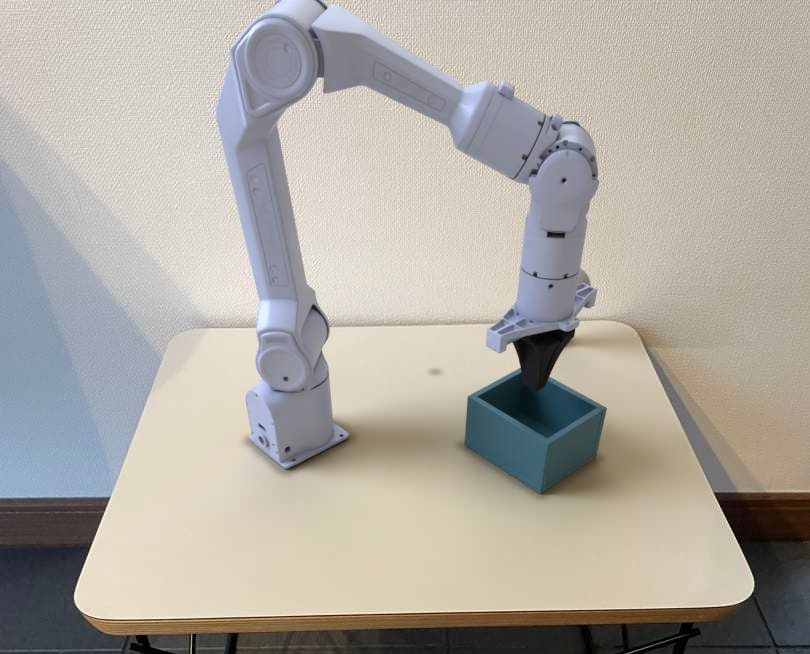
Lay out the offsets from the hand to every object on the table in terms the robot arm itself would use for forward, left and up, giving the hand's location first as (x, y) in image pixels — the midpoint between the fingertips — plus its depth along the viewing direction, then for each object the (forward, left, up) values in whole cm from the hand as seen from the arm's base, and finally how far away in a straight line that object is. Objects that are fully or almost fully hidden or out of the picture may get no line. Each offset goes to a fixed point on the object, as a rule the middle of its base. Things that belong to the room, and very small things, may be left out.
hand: (533, 385), depth 84 cm
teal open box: (-4, 0, -6) cm, 7 cm away
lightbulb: (+22, +14, -10) cm, 28 cm away
